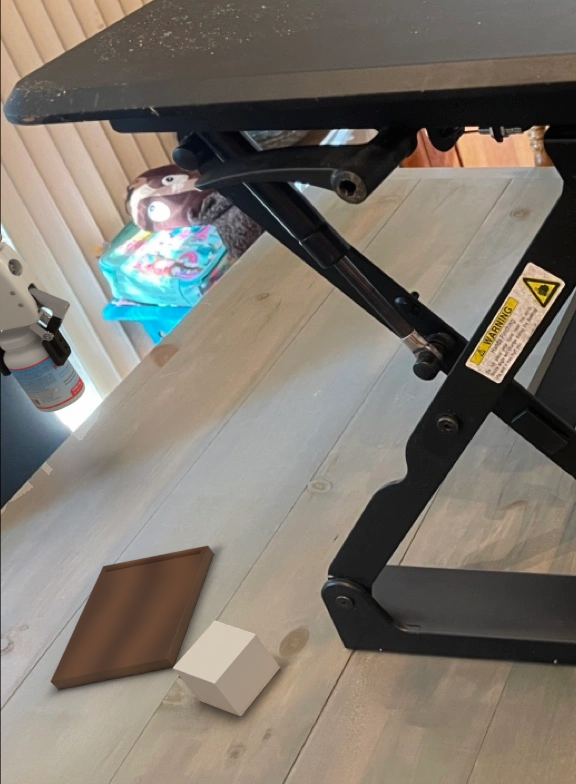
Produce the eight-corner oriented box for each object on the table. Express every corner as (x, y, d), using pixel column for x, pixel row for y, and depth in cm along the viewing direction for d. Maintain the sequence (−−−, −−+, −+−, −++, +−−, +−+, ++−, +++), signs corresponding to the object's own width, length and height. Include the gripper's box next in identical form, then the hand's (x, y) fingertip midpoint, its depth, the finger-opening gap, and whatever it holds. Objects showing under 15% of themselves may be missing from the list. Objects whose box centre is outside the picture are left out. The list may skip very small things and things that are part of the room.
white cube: (239, 653, 115) (214, 619, 112) (280, 667, 113) (256, 633, 109) (199, 701, 111) (172, 667, 108) (240, 717, 109) (214, 683, 105)
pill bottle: (90, 398, 138) (44, 331, 131) (40, 420, 135) (-9, 353, 129) (83, 376, 142) (39, 310, 135) (35, 397, 140) (-13, 331, 133)
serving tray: (57, 689, 116) (49, 681, 115) (109, 573, 128) (102, 565, 127) (173, 667, 115) (166, 658, 114) (213, 553, 128) (208, 544, 127)
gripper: (42, 217, 127) (115, 334, 138) (-99, 244, 127) (-15, 358, 138) (16, 251, 121) (94, 370, 132) (-132, 278, 121) (-42, 395, 132)
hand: (38, 363), depth 135 cm, fingers closed on pill bottle, 6 cm apart
